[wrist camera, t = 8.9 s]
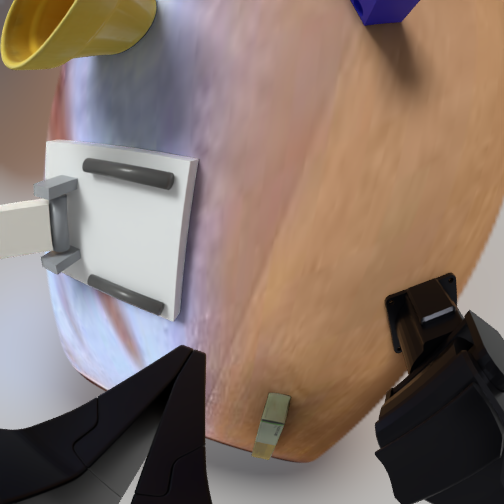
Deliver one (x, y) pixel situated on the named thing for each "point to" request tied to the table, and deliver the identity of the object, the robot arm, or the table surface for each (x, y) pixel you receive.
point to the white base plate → (122, 220)
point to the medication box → (271, 425)
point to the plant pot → (71, 30)
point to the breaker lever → (34, 227)
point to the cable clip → (383, 10)
